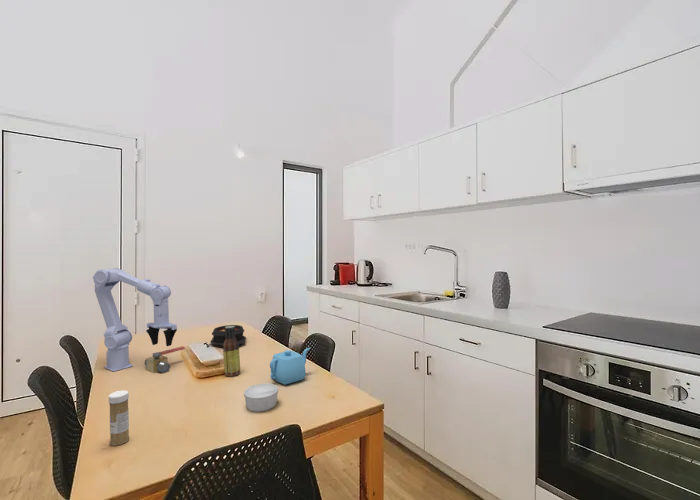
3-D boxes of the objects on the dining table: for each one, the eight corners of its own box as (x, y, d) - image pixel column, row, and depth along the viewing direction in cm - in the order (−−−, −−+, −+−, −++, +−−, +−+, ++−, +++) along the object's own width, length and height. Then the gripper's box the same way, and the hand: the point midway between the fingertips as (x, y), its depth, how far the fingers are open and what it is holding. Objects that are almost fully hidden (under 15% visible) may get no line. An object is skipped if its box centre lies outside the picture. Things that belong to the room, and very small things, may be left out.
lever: (151, 356, 151) (151, 353, 151) (181, 348, 162) (181, 345, 162) (154, 357, 149) (154, 355, 149) (185, 349, 161) (185, 346, 161)
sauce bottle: (243, 372, 146) (242, 325, 146) (233, 378, 140) (232, 328, 140) (230, 370, 148) (229, 324, 148) (220, 376, 142) (219, 327, 142)
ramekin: (261, 417, 108) (260, 400, 108) (236, 408, 114) (236, 392, 114) (285, 402, 118) (285, 387, 118) (262, 395, 124) (261, 380, 124)
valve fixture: (142, 368, 153) (141, 355, 153) (156, 364, 158) (155, 352, 158) (158, 374, 145) (157, 361, 145) (172, 370, 150) (172, 357, 150)
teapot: (318, 377, 140) (318, 348, 139) (278, 390, 128) (277, 359, 128) (302, 369, 149) (301, 342, 149) (263, 380, 138) (262, 351, 138)
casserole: (253, 345, 186) (253, 329, 186) (217, 352, 175) (217, 335, 175) (238, 335, 206) (237, 321, 206) (204, 341, 195) (204, 326, 195)
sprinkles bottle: (107, 442, 96) (106, 393, 95) (126, 435, 99) (125, 388, 99) (113, 448, 93) (111, 398, 92) (132, 441, 96) (130, 392, 96)
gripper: (140, 315, 151) (141, 346, 151) (167, 316, 147) (168, 348, 147) (153, 312, 158) (154, 341, 158) (180, 313, 154) (180, 344, 154)
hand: (162, 345), depth 153 cm, fingers open, 7 cm apart
